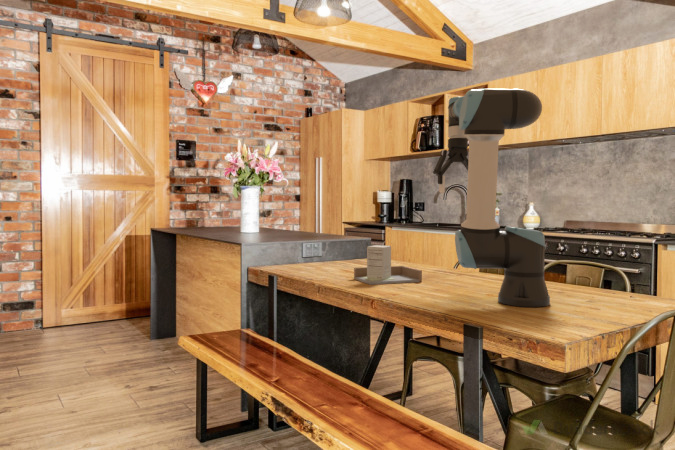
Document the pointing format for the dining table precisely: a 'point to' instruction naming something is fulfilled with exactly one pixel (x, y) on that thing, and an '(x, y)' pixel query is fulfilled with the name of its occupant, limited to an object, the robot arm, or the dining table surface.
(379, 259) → the supplement box
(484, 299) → the dining table surface
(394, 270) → the brown tray
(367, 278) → the pad
